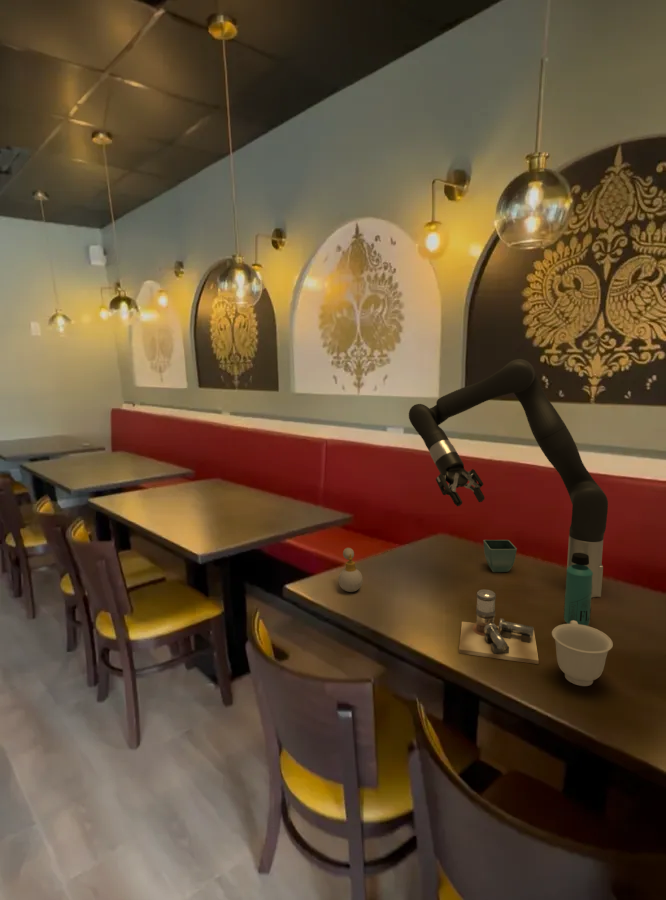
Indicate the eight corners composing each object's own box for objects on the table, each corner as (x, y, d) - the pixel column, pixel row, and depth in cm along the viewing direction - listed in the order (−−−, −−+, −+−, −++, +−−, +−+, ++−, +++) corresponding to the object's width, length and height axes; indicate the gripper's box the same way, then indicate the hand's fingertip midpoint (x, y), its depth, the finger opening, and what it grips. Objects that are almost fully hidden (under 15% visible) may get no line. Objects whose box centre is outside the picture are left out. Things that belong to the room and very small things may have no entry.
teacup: (597, 659, 123) (600, 619, 121) (616, 699, 109) (620, 655, 107) (543, 653, 126) (545, 614, 124) (554, 691, 111) (557, 648, 110)
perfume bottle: (346, 597, 157) (345, 559, 155) (330, 585, 165) (330, 549, 163) (367, 591, 160) (367, 554, 158) (351, 580, 169) (350, 545, 167)
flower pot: (516, 574, 171) (517, 548, 169) (489, 575, 171) (490, 549, 170) (507, 564, 180) (508, 539, 178) (482, 564, 180) (482, 539, 178)
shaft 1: (483, 637, 131) (483, 623, 131) (497, 636, 131) (497, 622, 131) (494, 655, 123) (495, 640, 123) (509, 654, 124) (510, 639, 123)
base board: (533, 633, 135) (533, 629, 134) (538, 664, 121) (538, 659, 121) (461, 624, 140) (462, 620, 139) (458, 653, 126) (459, 648, 126)
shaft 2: (498, 636, 132) (498, 621, 131) (500, 629, 135) (501, 615, 134) (531, 643, 128) (532, 628, 127) (533, 636, 131) (534, 622, 131)
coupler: (494, 626, 136) (495, 590, 135) (494, 635, 132) (496, 598, 130) (475, 623, 138) (477, 588, 136) (475, 632, 133) (476, 596, 132)
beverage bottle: (578, 635, 133) (583, 561, 130) (556, 623, 139) (561, 552, 136) (595, 628, 136) (601, 556, 133) (573, 618, 142) (578, 548, 139)
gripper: (433, 453, 154) (459, 499, 146) (469, 448, 161) (496, 492, 153) (422, 467, 160) (446, 513, 152) (457, 462, 166) (482, 505, 158)
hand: (471, 502), depth 152 cm, fingers open, 8 cm apart
